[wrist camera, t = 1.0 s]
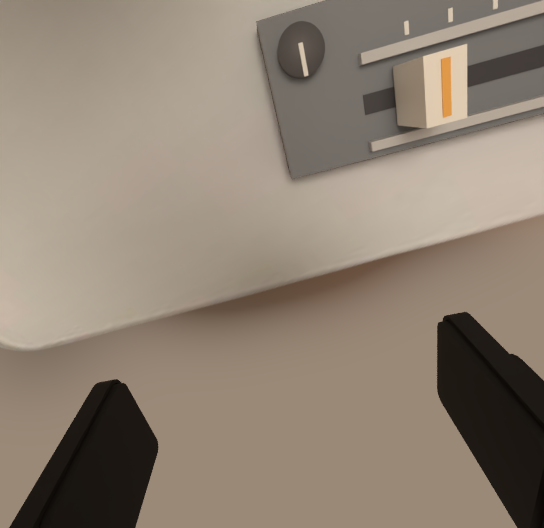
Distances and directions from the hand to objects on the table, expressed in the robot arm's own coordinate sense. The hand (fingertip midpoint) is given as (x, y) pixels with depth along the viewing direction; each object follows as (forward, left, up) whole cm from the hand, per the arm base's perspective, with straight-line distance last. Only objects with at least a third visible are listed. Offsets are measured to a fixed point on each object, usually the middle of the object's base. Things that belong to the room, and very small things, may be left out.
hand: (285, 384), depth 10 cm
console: (-7, +18, -23) cm, 30 cm away
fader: (-6, +12, -20) cm, 24 cm away
